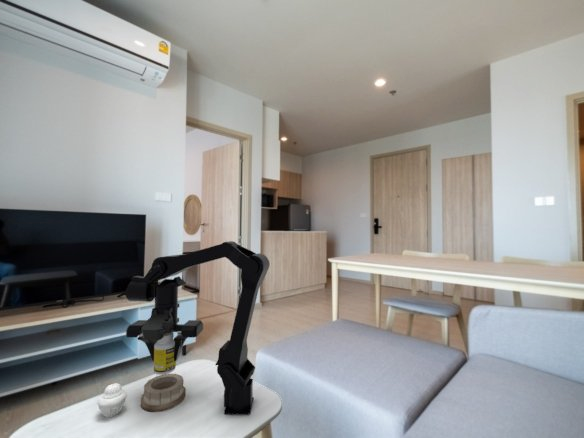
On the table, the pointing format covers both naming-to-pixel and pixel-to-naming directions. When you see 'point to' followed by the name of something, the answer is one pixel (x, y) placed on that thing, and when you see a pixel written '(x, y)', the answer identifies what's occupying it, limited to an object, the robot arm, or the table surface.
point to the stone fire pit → (163, 393)
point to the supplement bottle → (164, 355)
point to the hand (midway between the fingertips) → (165, 360)
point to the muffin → (112, 400)
